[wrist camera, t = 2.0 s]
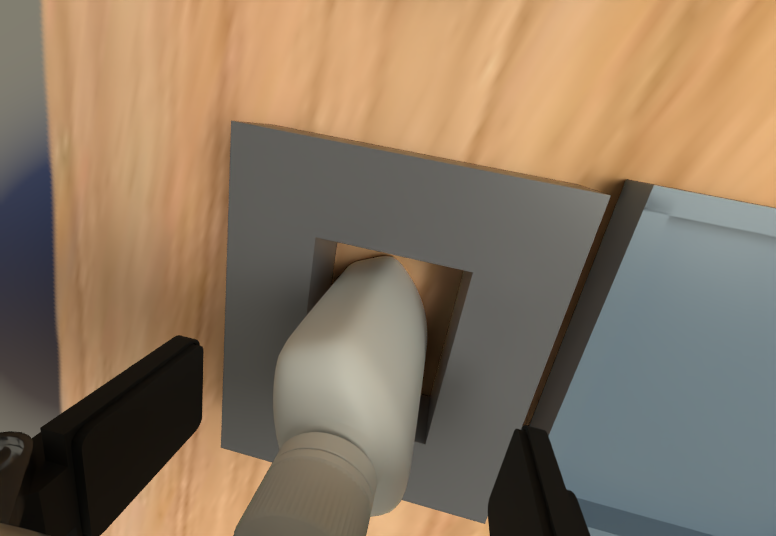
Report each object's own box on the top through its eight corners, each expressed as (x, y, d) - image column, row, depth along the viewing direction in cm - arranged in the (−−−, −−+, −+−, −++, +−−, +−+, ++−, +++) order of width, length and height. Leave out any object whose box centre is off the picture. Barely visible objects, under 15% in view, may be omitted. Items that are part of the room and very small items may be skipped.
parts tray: (626, 179, 13) (653, 184, 12) (1036, 258, 12) (1141, 279, 10) (507, 481, 19) (513, 520, 17) (788, 559, 17) (828, 609, 15)
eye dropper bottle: (329, 350, 18) (121, 699, 7) (355, 241, 16) (122, 477, 5) (417, 378, 18) (352, 793, 6) (454, 271, 16) (456, 598, 4)
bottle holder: (273, 124, 15) (231, 120, 12) (579, 184, 14) (610, 195, 11) (254, 404, 20) (221, 447, 17) (479, 466, 19) (484, 523, 16)
